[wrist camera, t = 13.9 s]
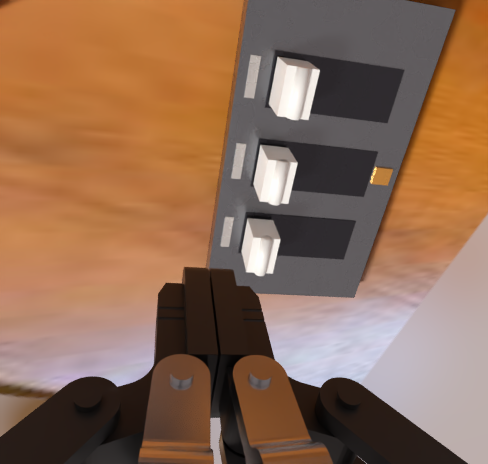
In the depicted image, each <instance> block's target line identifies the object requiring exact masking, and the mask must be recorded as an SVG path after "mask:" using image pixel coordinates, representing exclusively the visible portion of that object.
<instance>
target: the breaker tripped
mask: <svg viewBox="0 0 488 464" xmlns="http://www.w3.org/2000/svg"><path fill="white" fill-rule="evenodd" d="M297 164H298V162H297V161H296V159H295V158H294V156H293V154H292V153H291V151H290V150H289V148H286V147H277V146H268V145H260V151H259V156H258V161H257V167H256V172H255V178H254V183H253V184H254V187H255V190H256V193H257V195H258V198H259V201H260V202H268V203H269V204H271V205H275V206H277V205H280V203H283V204H288V203H289V198H290V194H291V190H292V185H293V181H294V177H295V173H296V168H297Z"/></svg>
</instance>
